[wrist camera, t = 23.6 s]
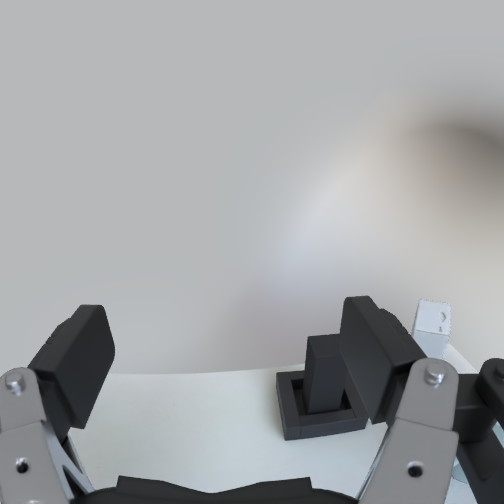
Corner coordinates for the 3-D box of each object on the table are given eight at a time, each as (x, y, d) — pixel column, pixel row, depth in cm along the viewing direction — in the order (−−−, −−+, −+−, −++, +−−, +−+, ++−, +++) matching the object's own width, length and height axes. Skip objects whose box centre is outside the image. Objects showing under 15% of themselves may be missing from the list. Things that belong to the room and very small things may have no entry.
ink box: (401, 362, 43) (419, 296, 39) (430, 368, 41) (451, 302, 37) (392, 398, 37) (414, 327, 32) (425, 405, 34) (452, 335, 30)
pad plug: (306, 418, 34) (315, 357, 31) (301, 396, 38) (307, 336, 35) (338, 413, 35) (351, 353, 31) (330, 392, 38) (340, 333, 35)
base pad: (285, 440, 32) (286, 428, 31) (275, 385, 41) (276, 372, 40) (364, 429, 32) (369, 416, 31) (344, 378, 42) (346, 365, 41)
